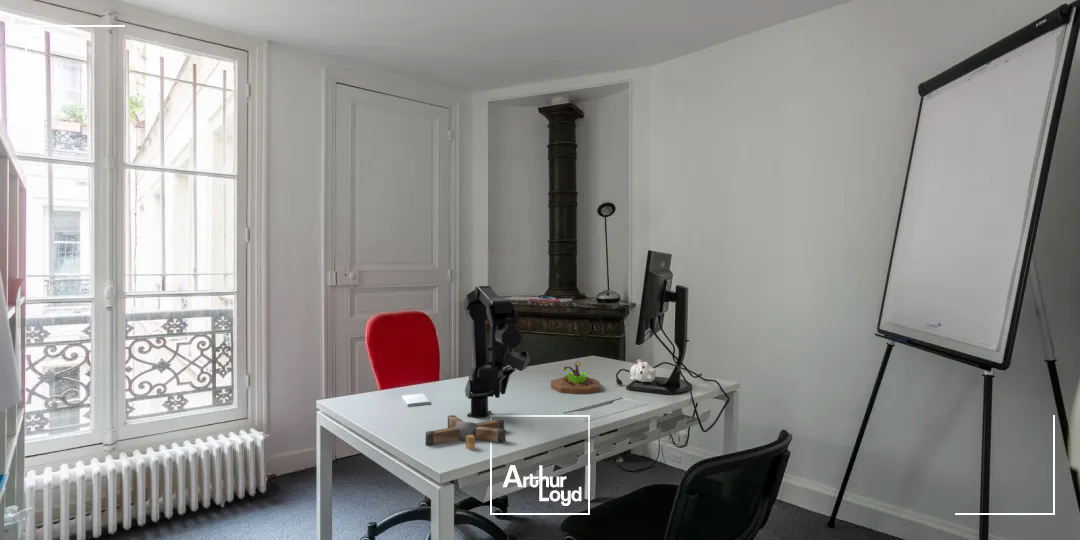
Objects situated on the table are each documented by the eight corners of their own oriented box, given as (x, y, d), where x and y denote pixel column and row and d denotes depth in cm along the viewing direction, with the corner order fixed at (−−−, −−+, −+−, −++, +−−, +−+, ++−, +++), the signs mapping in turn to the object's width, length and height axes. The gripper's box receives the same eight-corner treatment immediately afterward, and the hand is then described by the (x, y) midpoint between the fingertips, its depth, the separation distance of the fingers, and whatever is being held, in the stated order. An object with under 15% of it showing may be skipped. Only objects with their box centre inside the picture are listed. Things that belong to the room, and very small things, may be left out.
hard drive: (430, 401, 197) (423, 392, 208) (407, 403, 194) (401, 395, 205) (430, 406, 197) (423, 397, 208) (407, 408, 194) (401, 399, 205)
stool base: (411, 432, 166) (411, 420, 166) (486, 419, 179) (486, 408, 179) (438, 455, 148) (437, 442, 148) (518, 439, 160) (518, 427, 160)
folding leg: (475, 439, 160) (475, 428, 160) (479, 436, 162) (479, 426, 162) (503, 442, 157) (503, 432, 157) (507, 439, 159) (507, 429, 159)
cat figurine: (630, 356, 238) (651, 358, 224) (644, 364, 240) (665, 367, 227) (621, 376, 235) (642, 380, 221) (635, 385, 238) (657, 388, 224)
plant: (558, 396, 210) (558, 366, 209) (546, 384, 229) (546, 357, 228) (608, 393, 214) (608, 364, 213) (593, 381, 233) (593, 355, 232)
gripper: (514, 350, 151) (514, 406, 151) (536, 339, 168) (536, 390, 169) (476, 347, 154) (476, 403, 155) (502, 337, 172) (502, 387, 173)
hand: (500, 395), depth 163 cm, fingers open, 4 cm apart
